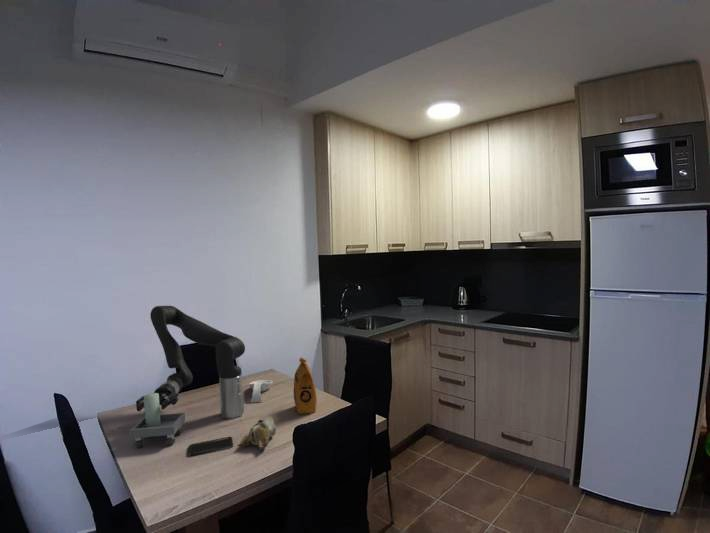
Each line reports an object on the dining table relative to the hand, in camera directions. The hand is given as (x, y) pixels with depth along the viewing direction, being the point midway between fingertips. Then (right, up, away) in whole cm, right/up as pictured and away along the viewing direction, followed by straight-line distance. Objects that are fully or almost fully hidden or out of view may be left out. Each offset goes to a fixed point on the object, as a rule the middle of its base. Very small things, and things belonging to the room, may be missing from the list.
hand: (150, 407), depth 139 cm
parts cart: (+2, -13, +3) cm, 14 cm away
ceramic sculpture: (+42, -13, -2) cm, 44 cm away
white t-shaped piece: (+29, -12, +48) cm, 57 cm away
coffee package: (+54, -11, +27) cm, 62 cm away
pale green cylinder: (0, -8, +2) cm, 8 cm away
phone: (+24, -13, -4) cm, 28 cm away
